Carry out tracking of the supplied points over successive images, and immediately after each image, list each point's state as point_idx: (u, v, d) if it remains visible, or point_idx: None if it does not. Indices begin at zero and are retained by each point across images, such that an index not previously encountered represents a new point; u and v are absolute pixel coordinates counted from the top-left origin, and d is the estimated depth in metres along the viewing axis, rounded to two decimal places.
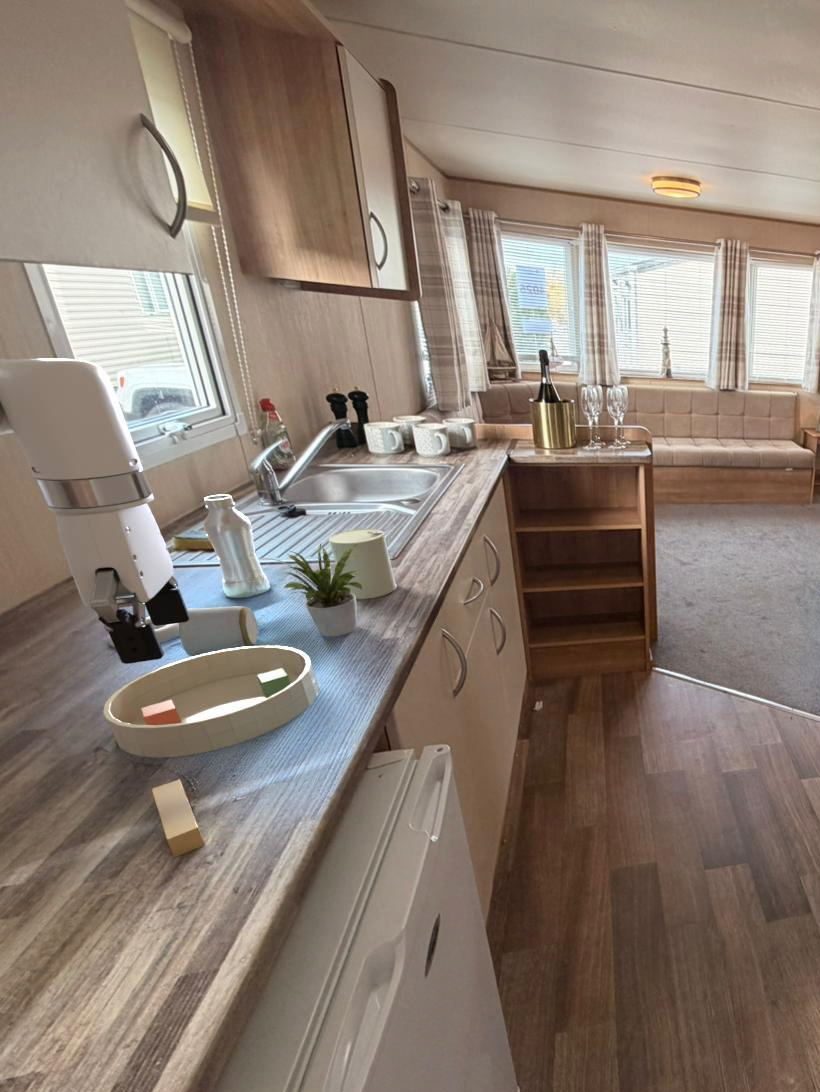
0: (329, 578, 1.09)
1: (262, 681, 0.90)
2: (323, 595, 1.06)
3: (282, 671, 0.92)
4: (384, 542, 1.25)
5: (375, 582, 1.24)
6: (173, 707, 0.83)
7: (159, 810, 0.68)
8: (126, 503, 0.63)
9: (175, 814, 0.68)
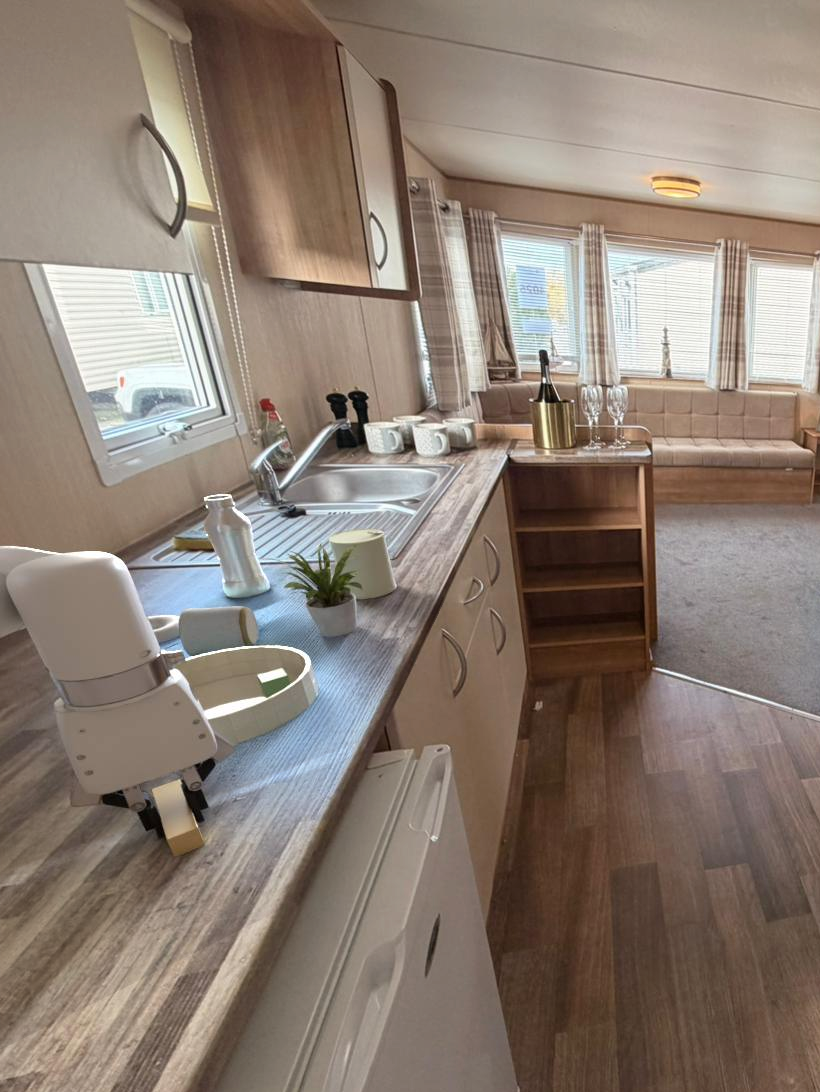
0: (329, 578, 1.09)
1: (262, 681, 0.90)
2: (323, 595, 1.06)
3: (282, 671, 0.92)
4: (384, 542, 1.25)
5: (375, 582, 1.24)
6: None
7: (159, 810, 0.68)
8: (81, 707, 0.59)
9: (175, 814, 0.68)
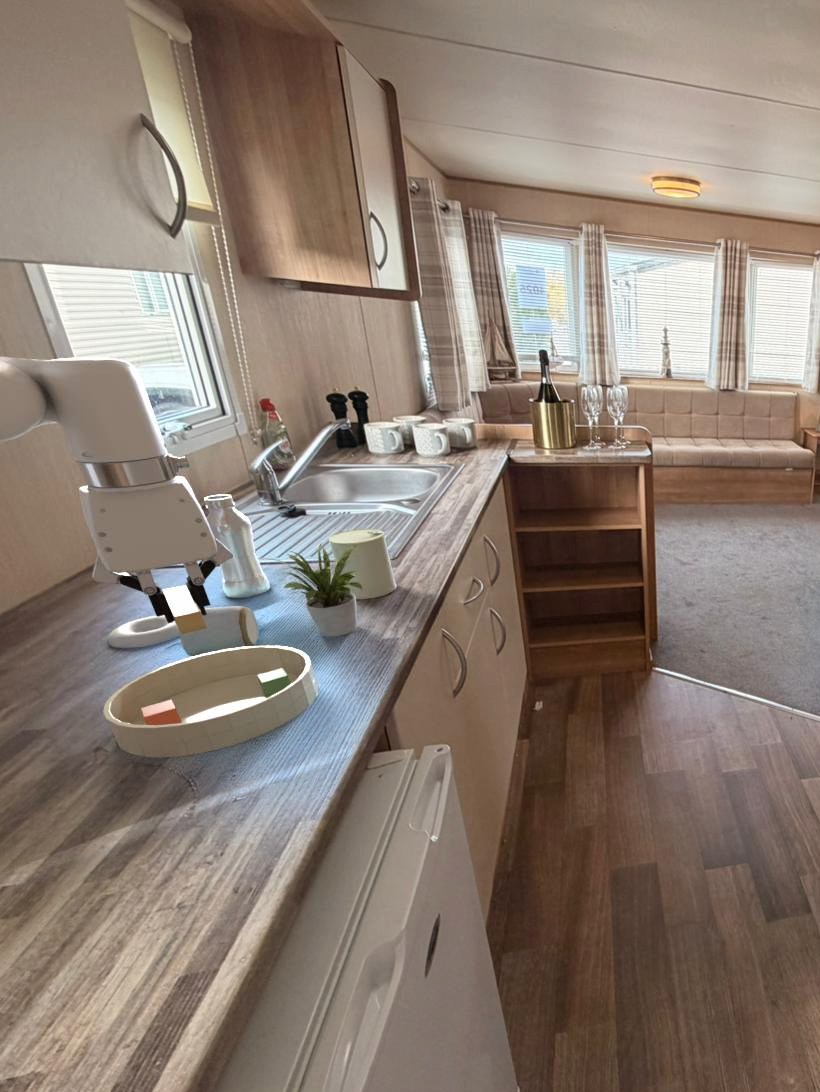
0: (329, 578, 1.09)
1: (262, 681, 0.90)
2: (323, 595, 1.06)
3: (282, 671, 0.92)
4: (384, 542, 1.25)
5: (375, 582, 1.24)
6: (173, 707, 0.83)
7: (168, 601, 0.79)
8: (102, 488, 0.70)
9: (181, 603, 0.79)
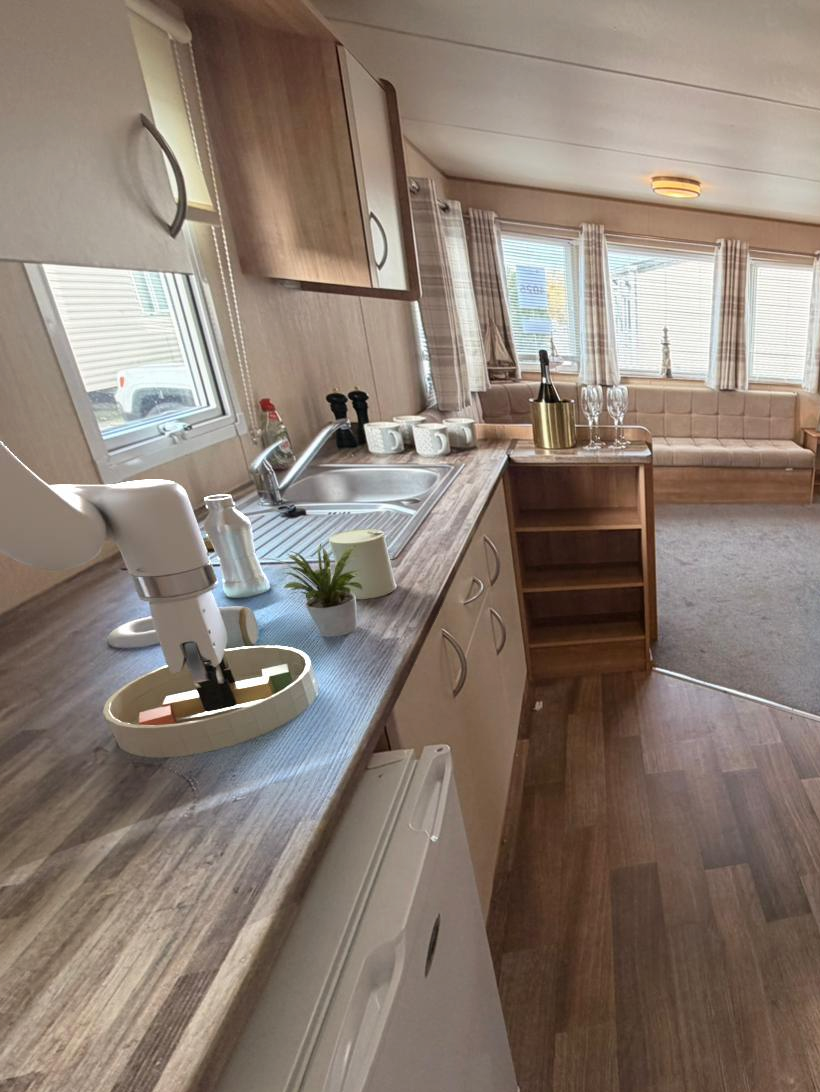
0: (329, 578, 1.09)
1: None
2: (323, 595, 1.06)
3: (285, 667, 0.93)
4: (384, 542, 1.25)
5: (375, 582, 1.24)
6: (169, 713, 0.82)
7: None
8: (202, 590, 0.80)
9: (231, 686, 0.88)
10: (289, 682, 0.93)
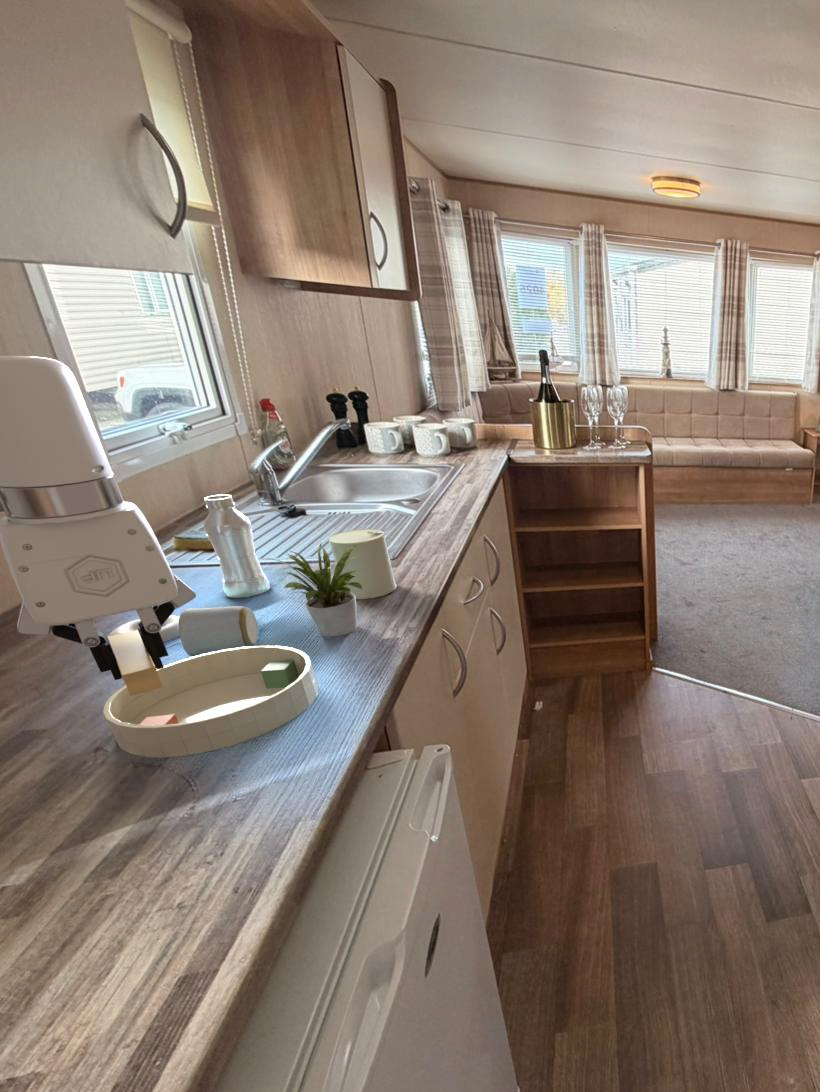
0: (329, 578, 1.09)
1: (263, 669, 0.92)
2: (323, 595, 1.06)
3: (288, 663, 0.94)
4: (384, 542, 1.25)
5: (375, 582, 1.24)
6: None
7: (145, 649, 0.66)
8: None
9: (128, 646, 0.67)
10: (285, 679, 0.93)
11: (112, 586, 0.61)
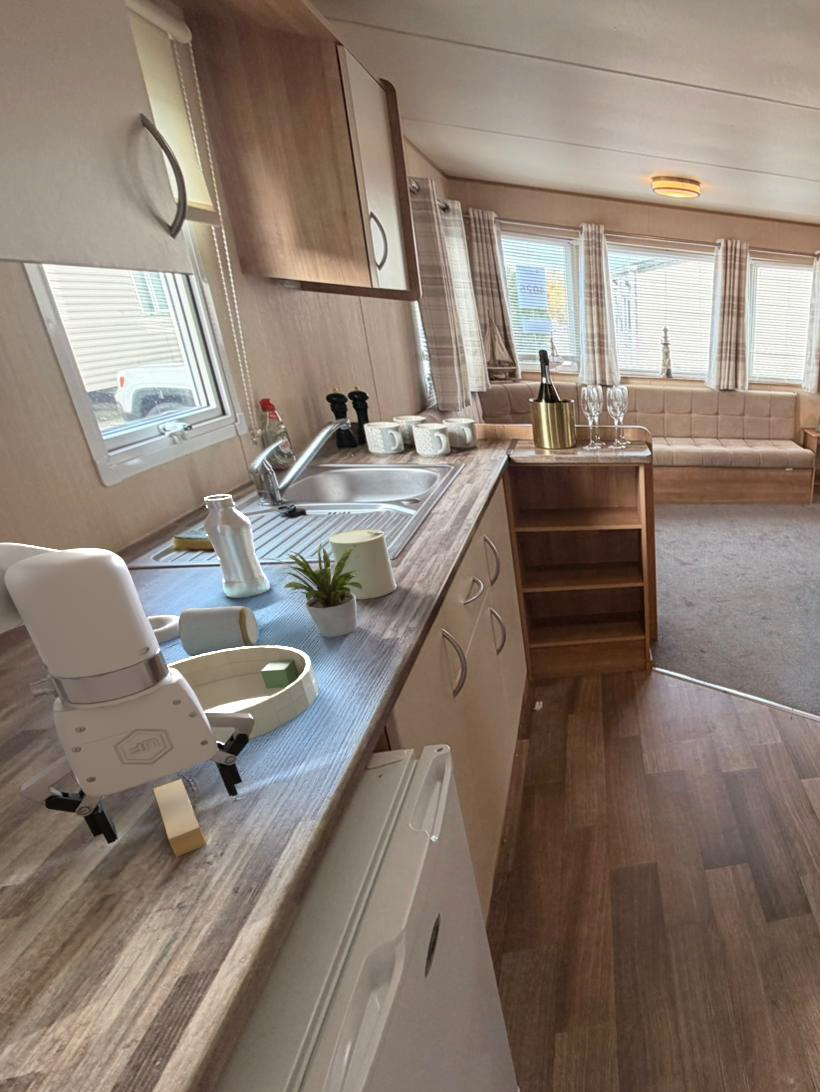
0: (329, 578, 1.09)
1: (263, 669, 0.92)
2: (323, 595, 1.06)
3: (288, 663, 0.94)
4: (384, 542, 1.25)
5: (375, 582, 1.24)
6: None
7: (189, 804, 0.69)
8: None
9: (173, 800, 0.69)
10: (285, 679, 0.93)
11: (157, 753, 0.64)
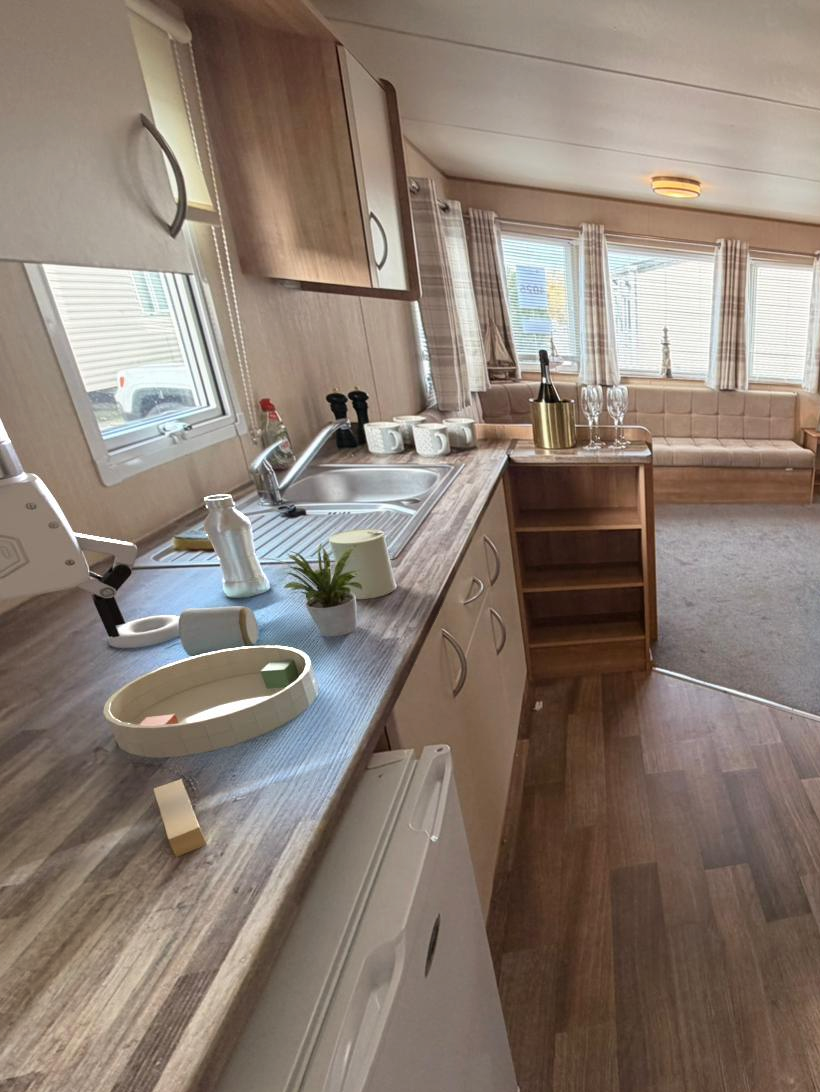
0: (329, 578, 1.09)
1: (263, 669, 0.92)
2: (323, 595, 1.06)
3: (288, 663, 0.94)
4: (384, 542, 1.25)
5: (375, 582, 1.24)
6: None
7: (189, 804, 0.69)
8: None
9: (173, 800, 0.69)
10: (285, 679, 0.93)
11: (8, 566, 0.55)
